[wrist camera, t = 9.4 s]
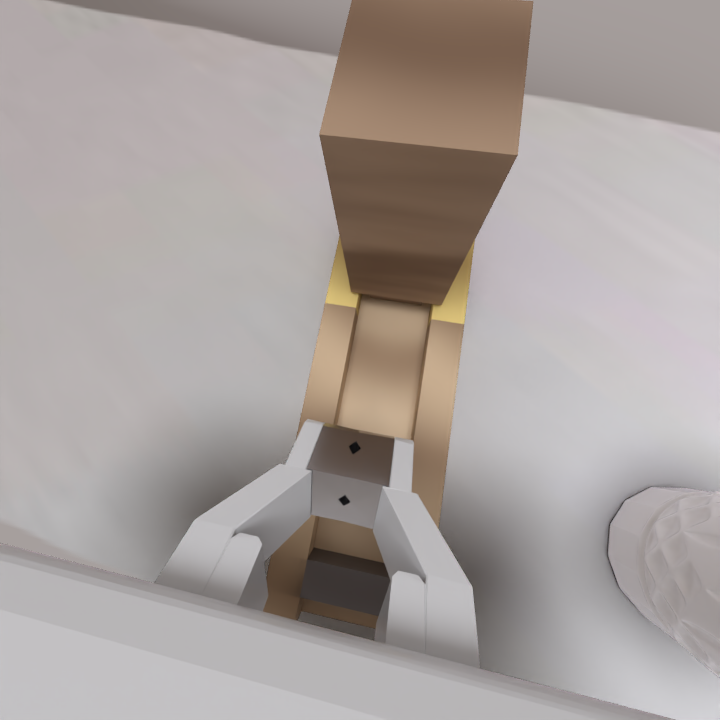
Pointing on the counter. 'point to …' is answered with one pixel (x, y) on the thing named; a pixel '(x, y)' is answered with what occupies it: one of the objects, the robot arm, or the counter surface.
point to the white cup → (672, 564)
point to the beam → (377, 415)
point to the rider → (421, 136)
